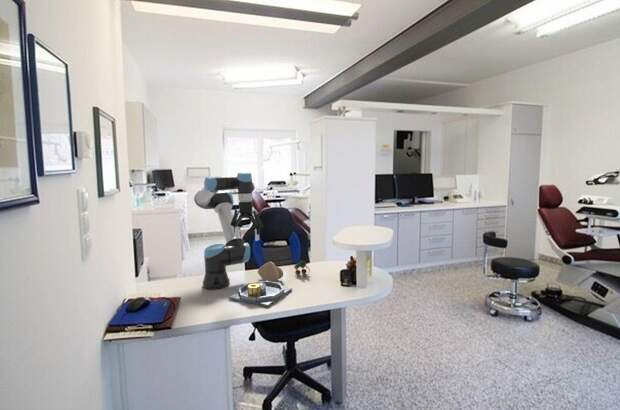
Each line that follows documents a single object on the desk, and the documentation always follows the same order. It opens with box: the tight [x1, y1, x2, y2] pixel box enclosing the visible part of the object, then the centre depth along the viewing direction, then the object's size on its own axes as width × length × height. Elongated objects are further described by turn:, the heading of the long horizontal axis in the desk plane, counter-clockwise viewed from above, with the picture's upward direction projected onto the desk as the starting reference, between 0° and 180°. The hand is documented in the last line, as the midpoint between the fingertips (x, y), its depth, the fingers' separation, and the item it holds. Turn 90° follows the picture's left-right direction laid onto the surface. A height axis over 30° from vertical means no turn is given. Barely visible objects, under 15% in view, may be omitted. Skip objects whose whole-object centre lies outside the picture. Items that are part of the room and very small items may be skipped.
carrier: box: [228, 280, 293, 308], centre depth 179 cm, size 24×24×6 cm
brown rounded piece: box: [257, 261, 284, 283], centre depth 202 cm, size 13×8×15 cm
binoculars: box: [293, 260, 311, 278], centre depth 209 cm, size 9×9×10 cm
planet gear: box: [248, 284, 260, 297], centre depth 173 cm, size 6×6×6 cm
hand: (247, 239), depth 185 cm, fingers open, 13 cm apart
